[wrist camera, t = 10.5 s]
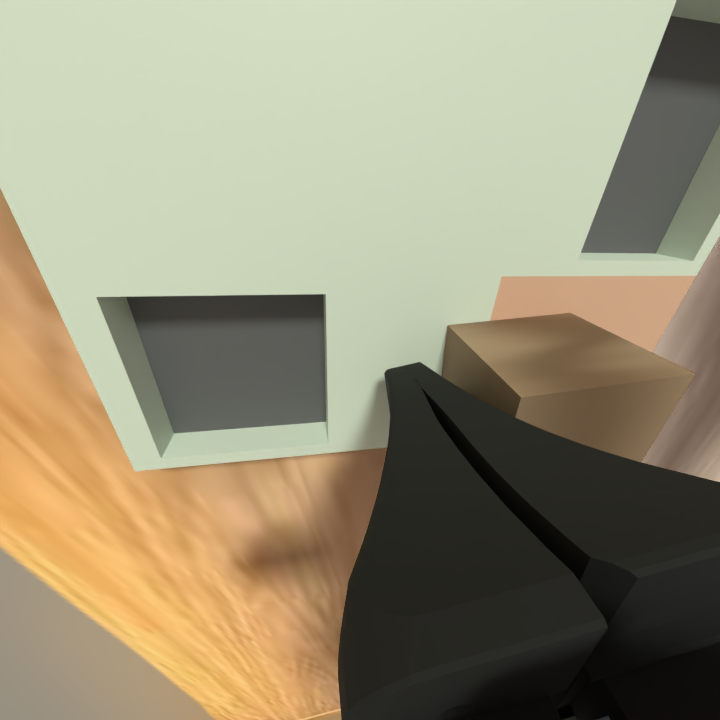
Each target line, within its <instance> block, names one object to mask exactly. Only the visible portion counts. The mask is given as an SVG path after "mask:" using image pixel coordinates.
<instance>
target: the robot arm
mask: <svg viewBox="0 0 720 720" xmlns="http://www.w3.org/2000/svg"><path fill="white" fill-rule="evenodd" d="M384 376H385V383H386V390H387V397H388V403H389V410H390V425H389V437H388V445H387V452H386V458H385V463H384V468H383V473H382V478H381V482H380V486H379V491H378V494H377V498H376V502H375V505H374V508H373V512H372V515H371V519H370V522H369V525H368V529H367V532H366V535H365V538H364V541H363V543H362V546H361V549H360V552H359V554H358V557H357V560H356V563H355V565H354V568H353V571H352V574H351V576H350V579H349V582H348V589H347V595H346V601H345V607H344V613H343V620H342V627H341V634H340V643H339V656H338V681H339V693H340V705H341V716H342V720H720V482H716V481H712V480H708V479H704V478H700V477H696V476H692V475H688V474H684V473H680V472H676V471H672V470H668V469H664V468H660V467H656V466H652V465H648V464H645V463H641V462H638V461H635V460H631V459H628V458H624V457H621V456H618V455H614V454H611V453H608V452H605V451H601V450H598V449H595V448H592V447H589V446H586V445H583V444H580V443H578V442H575V441H572V440H569V439H567V438H564V437H561V436H558V435H556V434H553V433H550V432H548V431H545V430H543V429H540V428H538V427H536V426H533V425H531V424H529V423H526V422H524V421H522V420H520V419H517V418H515V417H513V416H511V415H509V414H507V413H505V412H502V411H500V410H498V409H497V408H495V407H493V406H491V405H489V404H487V403H485V402H483V401H481V400H480V399H478V398H476V397H474V396H473V395H471V394H469V393H467V392H466V391H464V390H462V389H461V388H459V387H458V386H456V385H454V384H453V383H451V382H450V381H448V380H447V379H445V378H443V377H442V376H440V375H439V374H437V373H436V372H434V371H433V370H431V369H430V368H429V367H427V366H426V365H424V364H422V363H421V362H417V363H413V364H408V365H404V366H400V367H395V368H391V369H387V370H386V371H385V373H384Z"/></svg>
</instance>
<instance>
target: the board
mask: <svg viewBox="0 0 720 720" xmlns="http://www.w3.org/2000/svg"><path fill="white" fill-rule="evenodd" d="M0 188H1V190H2V192H3V194H4V196H5V199H6V201H7V203H8V205H9V207H10V209H11V211H12V213H13V215H14V218H15V220H16V222H17V224H18V226H19V228H20V230H21V232H22V234H23V237H24V239H25V241H26V243H27V245H28V247H29V249H30V251H31V253H32V255H33V258H34V260H35V262H36V264H37V266H38V268H39V270H40V272H41V274H42V277H43V279H44V281H45V283H46V285H47V287H48V289H49V291H50V293H51V296H52V298H53V300H54V302H55V304H56V306H57V308H58V310H59V312H60V315H61V317H62V319H63V321H64V323H65V325H66V327H67V329H68V331H69V334H70V336H71V338H72V340H73V342H74V344H75V346H76V348H77V350H78V352H79V355H80V357H81V359H82V361H83V363H84V365H85V367H86V369H87V371H88V374H89V376H90V378H91V380H92V382H93V384H94V386H95V388H96V390H97V393H98V395H99V397H100V399H101V401H102V403H103V405H104V407H105V409H106V412H107V414H108V416H109V418H110V420H111V422H112V424H113V426H114V428H115V431H116V433H117V435H118V437H119V439H120V441H121V443H122V445H123V447H124V449H125V452H126V454H127V456H128V458H129V460H130V462H131V464H132V466H133V468H134V471H143V470H154V469H165V468H175V467H186V466H197V465H207V464H218V463H228V462H239V461H250V460H260V459H271V458H282V457H292V456H303V455H314V454H324V453H335V452H346V451H356V450H367V449H378V448H387V445H388V437H389V425H390V410H389V403H388V397H387V390H386V383H385V376H384V373H385V371H386V370H387V369H391V368H395V367H400V366H404V365H408V364H413V363H417V362H421V363H422V364H424V365H426V366H427V367H429V368H430V369H431V370H433V371H434V372H436V373H437V374H439V375H440V376H442V367H443V359H444V351H445V342H446V334H447V326H448V325H454V324H464V323H474V322H484V321H494V320H504V319H513V318H523V317H533V316H543V315H553V314H563V313H572V314H574V315H576V316H578V317H580V318H582V319H584V320H586V321H588V322H590V323H592V324H594V325H596V326H598V327H601V328H603V329H605V330H607V331H609V332H611V333H613V334H615V335H617V336H619V337H621V338H623V339H625V340H627V341H629V342H631V343H633V344H635V345H637V346H640V347H642V348H644V349H646V350H648V351H650V352H652V351H653V350H654V348H655V346H656V344H657V343H658V341H659V339H660V338H661V336H662V334H663V332H664V331H665V329H666V327H667V326H668V324H669V322H670V320H671V319H672V317H673V315H674V313H675V312H676V310H677V308H678V307H679V305H680V303H681V301H682V300H683V298H684V296H685V295H686V293H687V291H688V289H689V288H690V286H691V284H692V283H693V281H694V279H695V277H696V276H697V274H698V272H699V270H700V269H701V267H702V265H703V264H704V262H705V260H706V258H707V257H708V255H709V253H710V252H711V250H712V248H713V246H714V245H715V243H716V241H717V239H718V238H719V236H720V0H0Z"/></svg>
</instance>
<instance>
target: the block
mask: <svg viewBox="0 0 720 720" xmlns="http://www.w3.org/2000/svg"><path fill="white" fill-rule="evenodd" d="M694 376H695V373H693V372H691V371H689V370H687V369H685V368H683V367H681V366H679V365H676V364H674V363H672V362H670V361H668V360H666V359H664V358H662V357H660V356H658V355H656V354H654V353H652V352H650V351H648V350H646V349H644V348H642V347H640V346H637V345H635V344H633V343H631V342H629V341H627V340H625V339H623V338H621V337H619V336H617V335H615V334H613V333H611V332H609V331H607V330H605V329H603V328H601V327H598V326H596V325H594V324H592V323H590V322H588V321H586V320H584V319H582V318H580V317H578V316H576V315H574V314H572V313H563V314H553V315H543V316H533V317H523V318H513V319H504V320H494V321H484V322H474V323H464V324H454V325H448V326H447V334H446V342H445V351H444V359H443V367H442V377H443V378H445V379H447V380H448V381H450V382H451V383H453V384H454V385H456V386H458V387H459V388H461V389H462V390H464V391H466V392H467V393H469V394H471V395H473V396H474V397H476V398H478V399H480V400H481V401H483V402H485V403H487V404H489V405H491V406H493V407H495V408H497V409H498V410H500V411H502V412H505V413H507V414H509V415H511V416H513V417H515V418H517V419H520V420H522V421H524V422H526V423H529V424H531V425H533V426H536V427H538V428H540V429H543V430H545V431H548V432H550V433H553V434H556V435H558V436H561V437H564V438H567V439H569V440H572V441H575V442H578V443H580V444H583V445H586V446H589V447H592V448H595V449H598V450H601V451H605V452H608V453H611V454H614V455H618V456H621V457H624V458H628V459H631V460H635V461H638V462H641V461H642V460H643V458H644V457H645V455H646V453H647V452H648V450H649V449H650V447H651V445H652V444H653V442H654V440H655V439H656V437H657V436H658V434H659V432H660V431H661V429H662V428H663V426H664V424H665V423H666V421H667V420H668V418H669V416H670V415H671V413H672V412H673V410H674V408H675V407H676V405H677V403H678V402H679V400H680V399H681V397H682V395H683V394H684V392H685V391H686V389H687V387H688V386H689V384H690V383H691V381H692V379H693V378H694Z"/></svg>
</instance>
